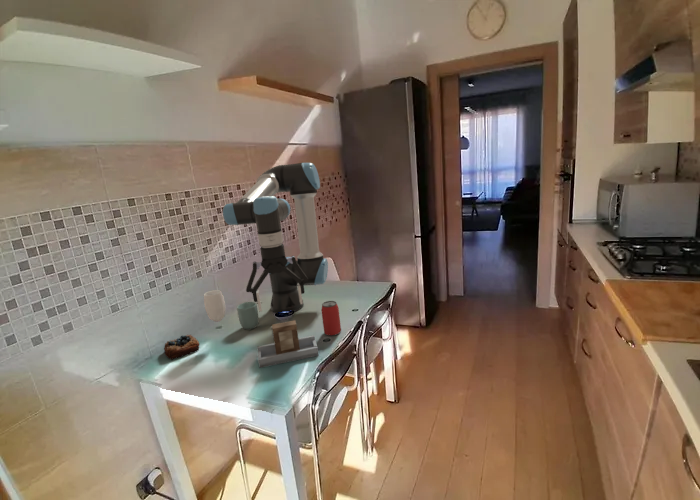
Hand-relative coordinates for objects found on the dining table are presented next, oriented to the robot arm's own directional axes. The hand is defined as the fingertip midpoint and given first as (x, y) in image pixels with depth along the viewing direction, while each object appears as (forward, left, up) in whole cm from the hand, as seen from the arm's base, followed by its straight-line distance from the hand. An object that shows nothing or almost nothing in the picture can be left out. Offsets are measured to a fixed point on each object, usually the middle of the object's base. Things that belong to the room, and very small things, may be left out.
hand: (281, 306), depth 124 cm
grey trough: (0, 0, -19) cm, 19 cm away
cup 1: (-32, +4, -19) cm, 37 cm away
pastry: (-44, -4, -19) cm, 48 cm away
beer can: (+8, +20, -19) cm, 29 cm away
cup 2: (-29, +18, -19) cm, 39 cm away
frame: (0, 0, -18) cm, 18 cm away
